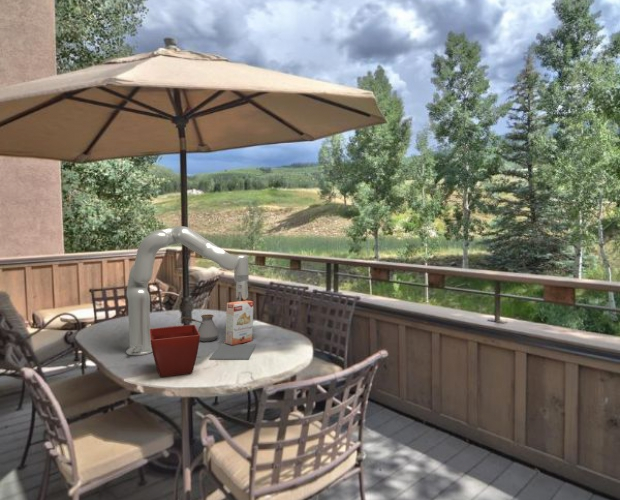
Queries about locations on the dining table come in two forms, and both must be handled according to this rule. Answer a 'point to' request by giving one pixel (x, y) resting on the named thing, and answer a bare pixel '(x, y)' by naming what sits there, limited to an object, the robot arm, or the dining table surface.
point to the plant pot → (175, 349)
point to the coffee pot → (206, 328)
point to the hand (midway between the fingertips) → (241, 312)
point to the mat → (233, 352)
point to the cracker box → (239, 322)
